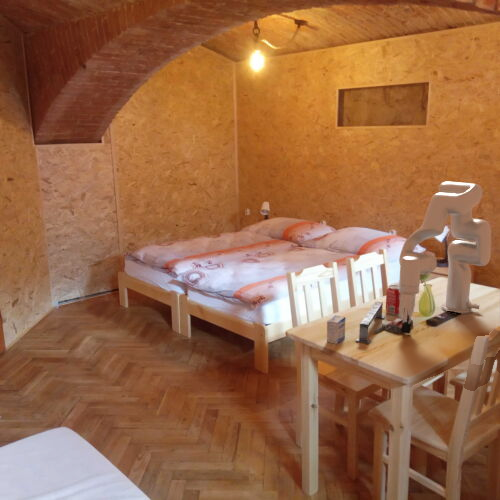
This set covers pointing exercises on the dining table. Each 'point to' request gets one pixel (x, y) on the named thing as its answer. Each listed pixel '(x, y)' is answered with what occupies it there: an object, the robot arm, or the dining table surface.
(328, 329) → the medicine box
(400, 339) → the dining table surface
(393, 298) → the soda can
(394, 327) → the walkie-talkie
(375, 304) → the bracket
